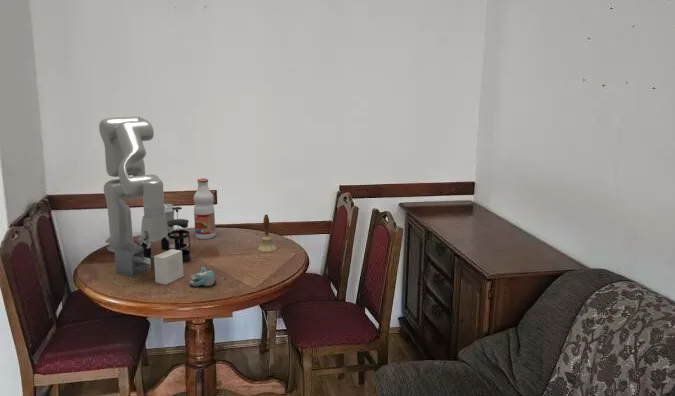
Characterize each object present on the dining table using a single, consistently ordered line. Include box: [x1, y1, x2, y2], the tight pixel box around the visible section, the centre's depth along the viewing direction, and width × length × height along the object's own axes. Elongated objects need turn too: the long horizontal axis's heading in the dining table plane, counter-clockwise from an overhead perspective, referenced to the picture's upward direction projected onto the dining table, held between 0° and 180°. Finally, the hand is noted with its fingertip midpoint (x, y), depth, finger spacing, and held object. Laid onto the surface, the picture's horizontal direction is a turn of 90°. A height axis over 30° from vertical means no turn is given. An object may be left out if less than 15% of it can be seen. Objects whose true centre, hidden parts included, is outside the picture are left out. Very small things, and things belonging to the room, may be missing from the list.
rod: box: [133, 253, 157, 272], centre depth 237 cm, size 19×5×5 cm, turn 64°
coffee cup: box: [164, 203, 176, 236], centre depth 289 cm, size 10×10×15 cm
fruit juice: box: [193, 177, 216, 240], centre depth 288 cm, size 9×9×28 cm
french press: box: [167, 206, 192, 264], centre depth 255 cm, size 12×9×23 cm
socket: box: [153, 249, 184, 286], centre depth 234 cm, size 5×10×10 cm, turn 154°
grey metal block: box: [114, 243, 149, 277], centre depth 242 cm, size 9×8×10 cm
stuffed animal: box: [189, 266, 216, 288], centre depth 231 cm, size 11×7×12 cm
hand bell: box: [257, 214, 277, 253], centre depth 270 cm, size 8×8×16 cm
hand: (156, 253), depth 236 cm, fingers open, 9 cm apart
